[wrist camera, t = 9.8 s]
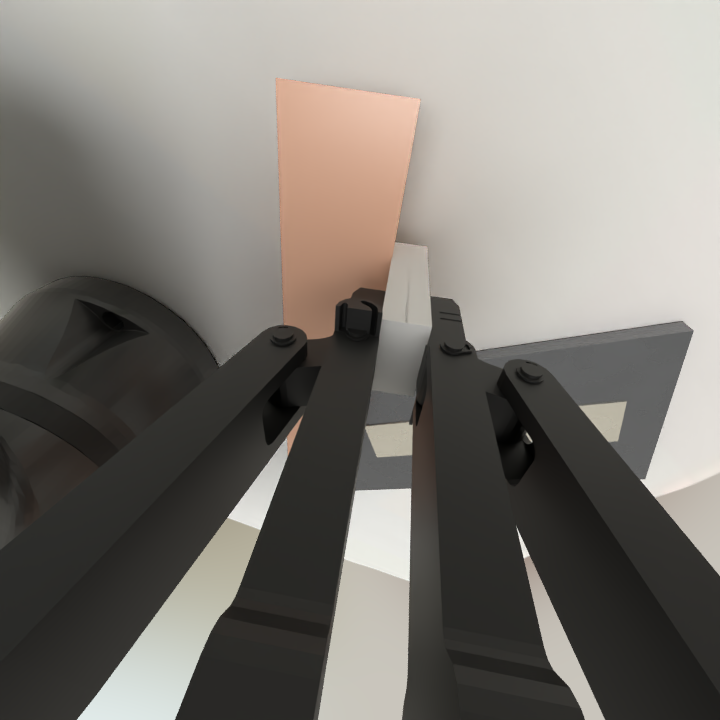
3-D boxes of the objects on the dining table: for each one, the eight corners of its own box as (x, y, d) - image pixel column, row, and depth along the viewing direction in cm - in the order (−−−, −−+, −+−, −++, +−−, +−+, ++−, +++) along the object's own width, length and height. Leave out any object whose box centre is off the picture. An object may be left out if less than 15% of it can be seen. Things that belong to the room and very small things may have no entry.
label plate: (338, 482, 34) (331, 517, 31) (282, 379, 26) (265, 413, 24) (638, 467, 27) (665, 512, 24) (682, 321, 19) (729, 360, 16)
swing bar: (349, 492, 28) (344, 523, 26) (297, 482, 28) (288, 512, 26) (420, 99, 12) (420, 99, 10) (297, 81, 12) (272, 77, 10)
